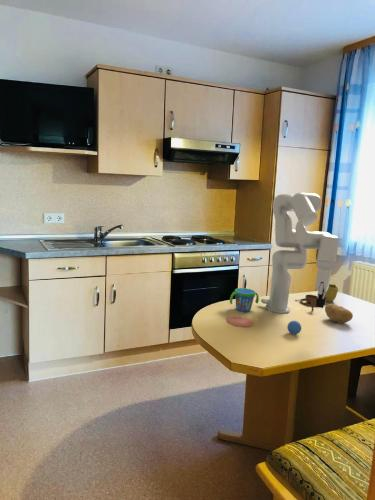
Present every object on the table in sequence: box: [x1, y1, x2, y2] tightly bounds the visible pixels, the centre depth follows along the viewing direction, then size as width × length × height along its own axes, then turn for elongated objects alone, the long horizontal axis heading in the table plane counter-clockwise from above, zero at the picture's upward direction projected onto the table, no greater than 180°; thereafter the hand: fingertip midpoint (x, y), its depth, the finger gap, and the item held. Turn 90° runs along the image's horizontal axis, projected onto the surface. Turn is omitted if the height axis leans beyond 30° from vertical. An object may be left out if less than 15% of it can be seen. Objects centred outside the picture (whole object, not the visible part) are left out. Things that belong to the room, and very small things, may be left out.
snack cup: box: [229, 287, 260, 313], centre depth 209 cm, size 16×10×10 cm
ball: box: [287, 320, 302, 335], centre depth 182 cm, size 6×6×6 cm
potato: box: [324, 303, 354, 324], centre depth 202 cm, size 10×14×8 cm
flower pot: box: [325, 283, 339, 303], centre depth 238 cm, size 9×9×9 cm
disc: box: [225, 316, 255, 328], centre depth 193 cm, size 13×13×1 cm
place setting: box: [295, 294, 317, 313], centre depth 227 cm, size 18×20×6 cm
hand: (320, 305), depth 176 cm, fingers open, 3 cm apart
